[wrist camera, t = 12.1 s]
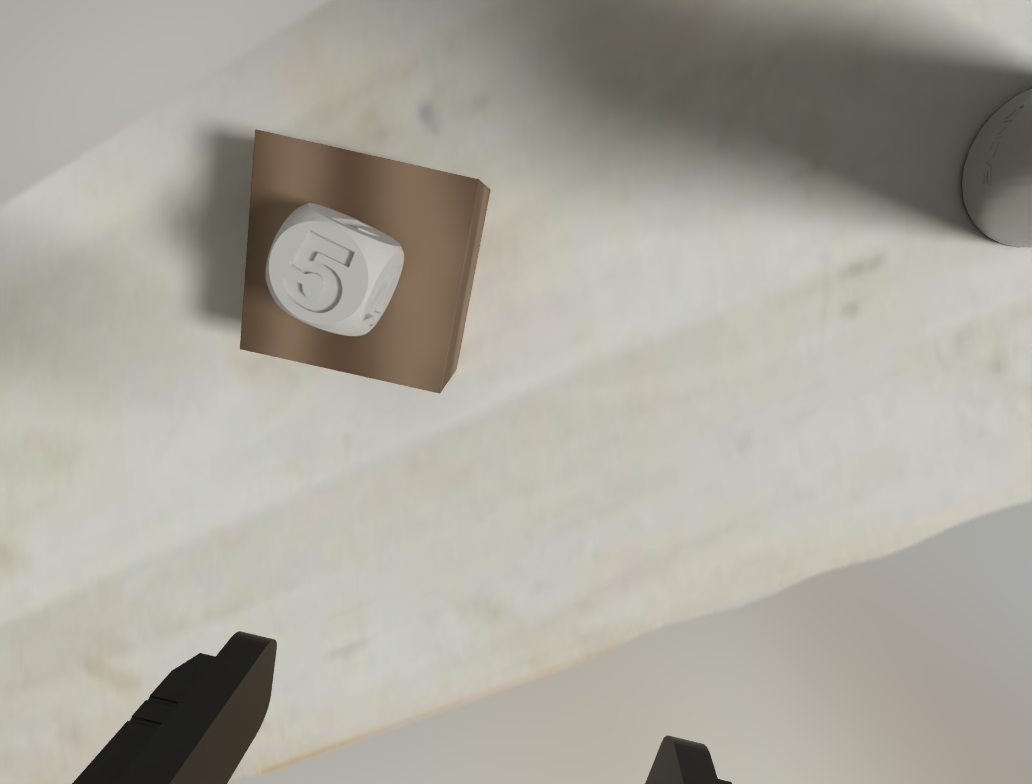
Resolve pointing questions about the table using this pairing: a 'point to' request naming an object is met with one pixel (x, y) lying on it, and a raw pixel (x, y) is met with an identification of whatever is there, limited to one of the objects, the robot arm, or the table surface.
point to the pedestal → (399, 214)
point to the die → (333, 270)
